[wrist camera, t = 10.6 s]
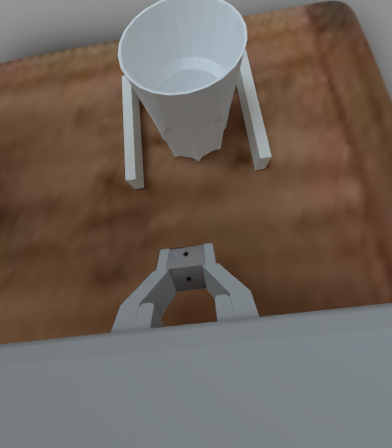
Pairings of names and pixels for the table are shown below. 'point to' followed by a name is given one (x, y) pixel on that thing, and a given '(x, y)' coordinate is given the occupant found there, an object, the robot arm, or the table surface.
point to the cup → (185, 69)
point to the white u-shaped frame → (249, 110)
